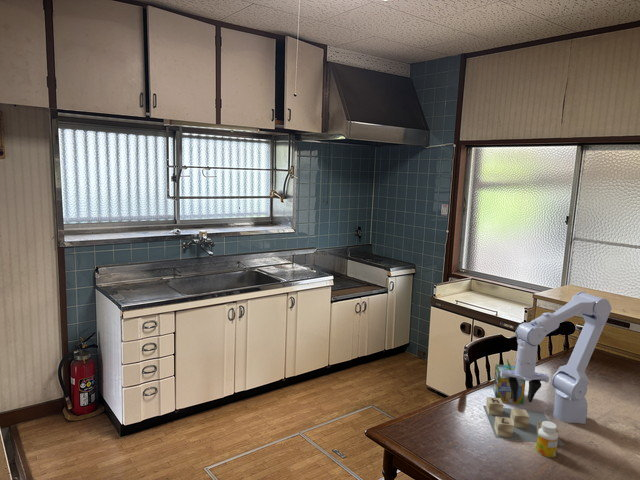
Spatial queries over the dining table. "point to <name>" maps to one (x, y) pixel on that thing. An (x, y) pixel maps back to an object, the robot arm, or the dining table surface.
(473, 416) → the dining table surface
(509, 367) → the chalk box
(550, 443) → the supplement bottle
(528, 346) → the robot arm
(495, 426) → the block seven
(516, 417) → the plain block
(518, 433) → the mat
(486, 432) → the dining table surface
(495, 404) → the block four
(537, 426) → the tan cube
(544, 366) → the dining table surface
